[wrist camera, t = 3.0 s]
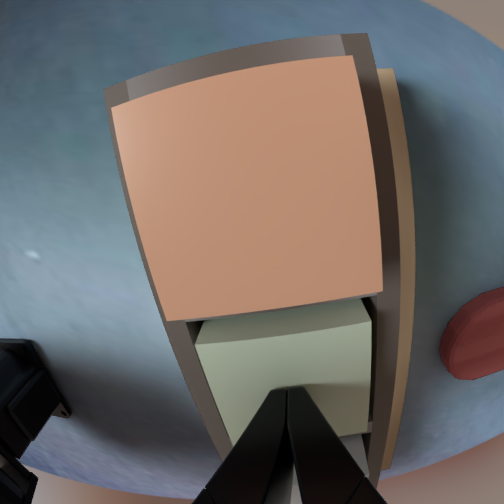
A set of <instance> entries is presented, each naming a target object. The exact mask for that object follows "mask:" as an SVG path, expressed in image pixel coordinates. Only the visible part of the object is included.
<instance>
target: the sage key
mask: <svg viewBox="0 0 504 504" xmlns="http://www.w3.org/2000/svg"><path fill="white" fill-rule="evenodd" d="M195 347H196V350H197V353H198V356H199V359H200V362H201V364H202V367H203V370H204V373H205V375H206V378H207V381H208V384H209V386H210V389H211V392H212V394H213V397H214V399H215V402H216V405H217V407H218V410H219V412H220V415H221V417H222V420H223V422H224V425H225V427H226V430H227V432H228V434H229V437H230V439H231V442H232V444H233V446H234V445H235V444H236V442H237V441H238V439H239V438H240V436H241V435H242V433H243V432H244V430H245V429H246V427H247V426H248V424H249V423H250V421H251V420H252V418H253V417H254V415H255V413H256V412H257V410H258V409H259V407H260V406H261V404H262V403H263V401H264V399H265V398H266V396H267V395H268V393H269V391H270V390H272V389H281V388H286V389H287V390H288V388H290V387H298V386H303V387H305V389H306V390H307V392H308V393H309V395H310V396H311V398H312V399H313V401H314V402H315V403H316V405H317V406H318V408H319V409H320V411H321V412H322V414H323V415H324V417H325V418H326V420H327V421H328V422H329V424H330V425H331V427H332V428H333V430H334V431H335V433H336V434H337V435H338V437H339V436H345V435H351V434H356V433H361V432H366V431H367V426H368V414H369V399H370V379H371V319H370V317H369V315H368V313H367V311H366V309H365V307H364V305H363V302H362V300H361V298H357V299H351V300H346V301H340V302H334V303H328V304H321V305H315V306H309V307H302V308H295V309H289V310H282V311H274V312H267V313H259V314H252V315H244V316H236V317H227V318H218V319H209V320H204V322H203V325H202V327H201V330H200V332H199V335H198V337H197V340H196V343H195Z"/></svg>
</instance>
